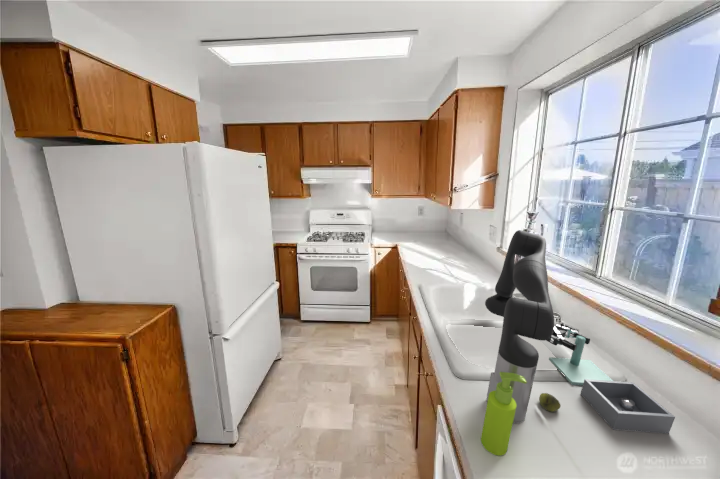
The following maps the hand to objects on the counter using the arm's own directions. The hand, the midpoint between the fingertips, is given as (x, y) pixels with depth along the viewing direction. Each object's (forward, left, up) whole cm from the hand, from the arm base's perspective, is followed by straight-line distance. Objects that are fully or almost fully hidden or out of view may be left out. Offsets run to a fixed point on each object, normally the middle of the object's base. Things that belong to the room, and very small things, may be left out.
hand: (582, 344), depth 95 cm
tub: (0, -18, -9) cm, 21 cm away
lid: (0, -3, -10) cm, 10 cm away
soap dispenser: (-40, -30, -10) cm, 51 cm away
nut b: (+3, -16, -9) cm, 19 cm away
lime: (-20, -18, -10) cm, 29 cm away
